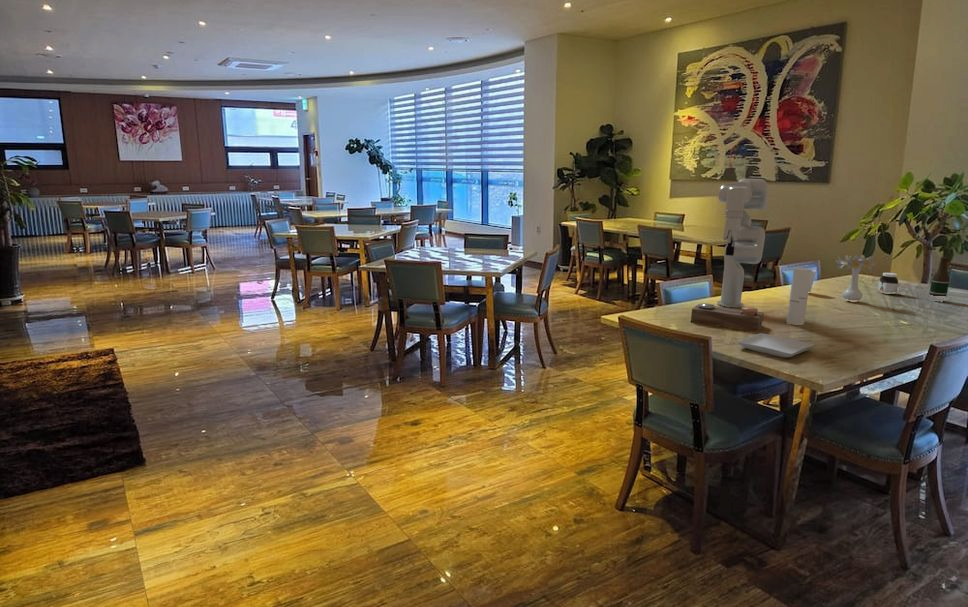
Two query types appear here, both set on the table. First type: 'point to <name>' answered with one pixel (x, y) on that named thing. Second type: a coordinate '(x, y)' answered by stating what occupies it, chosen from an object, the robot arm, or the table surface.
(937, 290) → the beer bottle
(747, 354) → the table surface
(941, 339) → the table surface
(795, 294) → the white tall box
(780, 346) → the salad plate
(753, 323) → the button stand
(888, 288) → the spread jar
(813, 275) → the foam cup
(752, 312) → the terracotta plunger
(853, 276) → the flower vase
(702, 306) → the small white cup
